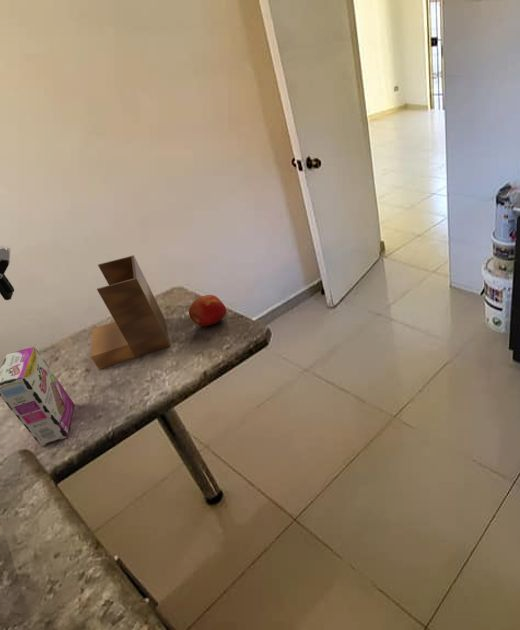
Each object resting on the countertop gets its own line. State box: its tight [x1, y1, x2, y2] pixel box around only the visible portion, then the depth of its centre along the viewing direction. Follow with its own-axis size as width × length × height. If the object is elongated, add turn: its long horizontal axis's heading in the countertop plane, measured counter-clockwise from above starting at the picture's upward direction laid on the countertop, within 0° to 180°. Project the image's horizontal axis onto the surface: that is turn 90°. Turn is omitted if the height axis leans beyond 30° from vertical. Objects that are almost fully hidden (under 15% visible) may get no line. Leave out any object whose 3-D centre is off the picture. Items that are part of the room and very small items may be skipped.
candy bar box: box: [0, 346, 75, 447], centre depth 86 cm, size 11×5×16 cm, turn 29°
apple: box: [188, 294, 227, 327], centre depth 117 cm, size 8×8×8 cm
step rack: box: [90, 255, 171, 370], centre depth 108 cm, size 16×15×20 cm
